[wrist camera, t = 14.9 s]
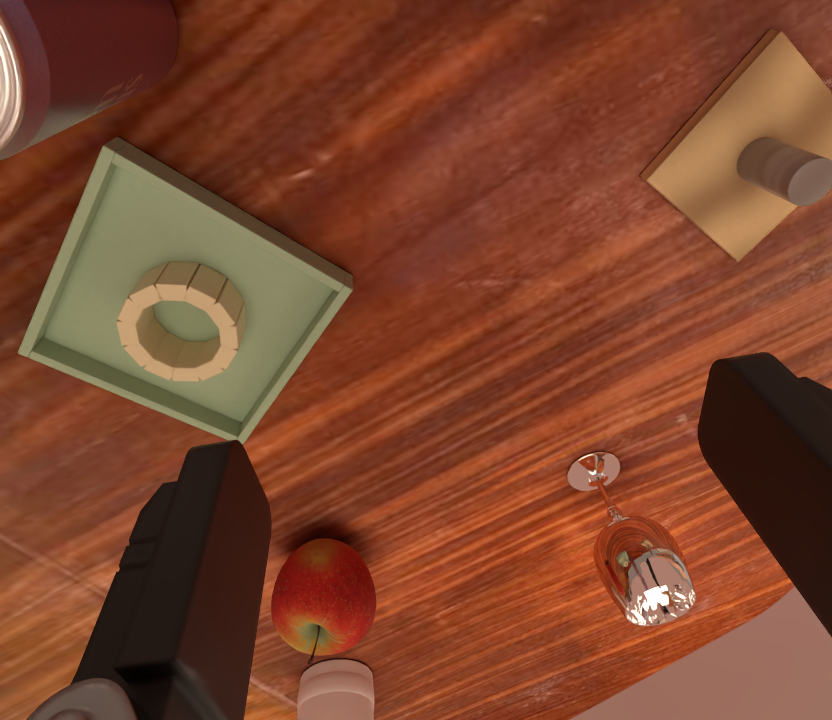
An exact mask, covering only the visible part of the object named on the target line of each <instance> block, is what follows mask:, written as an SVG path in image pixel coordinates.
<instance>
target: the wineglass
mask: <svg viewBox="0 0 832 720" xmlns="http://www.w3.org/2000/svg"><path fill="white" fill-rule="evenodd" d="M619 472H620V462H619V460H618V458H617V457H616V456H615V455H613V454H611V453H608V452H593V453H590V454H587V455H584V456H582V457H581V458H579V459H578V460H576V461H575V462H574V463H573V464H572V465H571V467H570V468H569V470H568V473H567V480H568V482H569V484H570V485H571V486H572V487H573V488H575V489H577V490H580V491H594V490H598V489H599V490H600V492H601V494H602V496H603V498H604V500H605V503H606V507H607V514H608V517H609V519H610V520H611V521H612V522H611V523H609V524H608V525H607V526H605V527H604V528H603V529H602V530H601V531H600V533H599V534H598V536H597V538H596V540H595V544H594V550H593V556H594V562H595V566H596V569H597V572H598V575H599V577H600V579H601V581H602V583H603V585H604V586H605V588H606V590H607V592H608V593H609V595H610V596H611V598H612V600H613V601H614V602H615V604H616V605H617V606H618V608H619V609H620V610H621V612H622V613H623V614H624V616H625V617H626V618H627V619H628V620H629V621H630V622H631V623H633V624H636V625H641V626H654V625H659V624H663V623H667V622H670V621H672V620H674V619H676V618H678V617H680V616H682V615H683V614H684V613H686V612H687V611H688V610H689V609H690V608H691V607H692V606H693V604H694V602H695V599H696V594H695V589H694V585H693V582H692V578H691V575H690V572H689V569H688V566H687V563H686V561H685V558H684V556H683V554H682V552H681V549H680V548H679V546H678V544H677V542H676V541H675V539H674V538H673V536H672V535H671V534H670V533H669V532H668V531H667V530H666V529H665V528H664V527H663V526H662V525H661V524H659V523H658V522H656V521H654V520H652V519H650V518H646V517H642V516H627V517H623V515H622V512H621V511H620V509H619V508H618V507H616V506H615V504H614V503H613V502H612V500H611V499H610V497H609V495H608V493H607V491H606V489H605V486H607V485H608V484H610V483H611V482H612V481H613V480H614V479H615V478H616V477H617V476H618V474H619Z"/></svg>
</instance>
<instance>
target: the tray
mask: <svg viewBox="0 0 832 720" xmlns="http://www.w3.org/2000/svg"><path fill="white" fill-rule="evenodd" d="M171 261H179V262H197V263H199V267H200V265H201V264H203V265H205V266H207V267H209V268H211V269H213V270H215V271H216V272H218V273H220V274H222V275H224V276H226V280H227V279H229V280H230V281H231V282H232V284H233V285H234V286H235V288H236V289H237V291H238V292H239V293H240V295H241V296H242V298H243V299H244V300H243V302H244V303H245V311H246V327H245V330H244V334H243V337H242V340H241V343H240V346H239V349H238V352H237V354H236V355H235V357H234V358H233V360H232V362H231V363H230V365H229V366H228V368H227V369H225V370H224V371H223V372H221V373H219V374H217V375H215V376H213V377H210V378H208V379H206V380H204V381H202V380H201V379H200V381H198V382H193V381H173V380H172V377H171V379H170V380H167V379H165V378H163V377H160V376H158V375H156V374H153V373H151V372H149V371H147V370H144V367H145V366H143V367H140V366H139V364H138V363H137V362H136V361H135V360H134V359H133V358H132V357H131V356H130V355H129V354H128V353H127V352H126V350H125V349H124V348H123V347H124V345H121V341H120V337H119V332H118V328H117V323H116V321H117V320H118V319H117V316H118V314H119V312H120V310H121V308H122V306H123V304H124V302H125V300H126V298H127V297H128V295H129V294H130V293H131V291H132V290H133V289H134V287H135V286H136V284H137V283H138V282H139V280H140V279H141V278H142V276H143V275H144V274H145V273H146V272H148V271H150V270H152V269H154V268H156V267H158V266H160V265H162V264H164V263H166V262H169V263H170V262H171ZM352 279H353V276H352V275H351V274H349V273H347V272H346V271H344V270H342V269H341V268H339V267H337V266H336V265H334V264H332V263H330V262H329V261H327V260H325V259H324V258H322V257H320V256H319V255H317V254H315V253H314V252H312V251H310V250H309V249H307V248H305V247H303V246H302V245H300V244H298V243H297V242H295V241H293V240H292V239H290V238H288V237H287V236H285V235H283V234H281V233H280V232H278V231H276V230H275V229H273V228H271V227H270V226H268V225H266V224H265V223H263V222H261V221H259V220H258V219H256V218H254V217H253V216H251V215H249V214H248V213H246V212H244V211H243V210H241V209H239V208H237V207H236V206H234V205H232V204H231V203H229V202H227V201H226V200H224V199H222V198H221V197H219V196H217V195H215V194H214V193H212V192H210V191H209V190H207V189H205V188H204V187H202V186H200V185H199V184H197V183H195V182H193V181H192V180H190V179H188V178H187V177H185V176H183V175H182V174H180V173H178V172H177V171H175V170H173V169H172V168H170V167H168V166H166V165H165V164H163V163H161V162H160V161H158V160H156V159H155V158H153V157H151V156H150V155H148V154H146V153H144V152H143V151H141V150H139V149H138V148H136V147H134V146H133V145H131V144H129V143H128V142H126V141H124V140H122V139H121V138H119V137H116V138H114V139H113V140H111V141H110V142H108V143H106V144H105V145H103V146H102V149H101V151H100V154H99V156H98V159H97V161H96V163H95V166H94V168H93V171H92V173H91V176H90V178H89V180H88V183H87V185H86V188H85V190H84V193H83V195H82V197H81V200H80V202H79V205H78V207H77V210H76V212H75V214H74V217H73V219H72V222H71V224H70V227H69V229H68V232H67V234H66V236H65V239H64V241H63V244H62V246H61V249H60V251H59V253H58V256H57V258H56V261H55V263H54V266H53V268H52V270H51V273H50V275H49V278H48V280H47V283H46V285H45V287H44V290H43V292H42V295H41V297H40V300H39V302H38V305H37V307H36V309H35V312H34V314H33V317H32V319H31V322H30V324H29V326H28V329H27V331H26V334H25V336H24V339H23V341H22V343H21V346H20V348H19V351H18V353H19V354H21V355H23V356H26V357H29V358H30V359H33V360H35V361H37V362H40V363H42V364H45V365H47V366H50V367H52V368H54V369H57V370H59V371H62V372H64V373H67V374H69V375H71V376H74V377H76V378H79V379H81V380H84V381H86V382H88V383H91V384H93V385H96V386H98V387H101V388H103V389H105V390H108V391H110V392H113V393H115V394H118V395H120V396H122V397H125V398H127V399H130V400H132V401H134V402H137V403H139V404H142V405H144V406H147V407H149V408H151V409H154V410H156V411H159V412H161V413H164V414H166V415H168V416H171V417H173V418H176V419H178V420H181V421H183V422H185V423H188V424H190V425H193V426H195V427H198V428H200V429H202V430H205V431H207V432H210V433H212V434H215V435H217V436H219V437H222V438H224V439H227V440H229V441H231V440H238V441H240V442H241V444H242V445H243V444H244V442H245V441H246V439H247V438H248V437H249V435H250V434H251V432H252V431H253V430H254V428H255V427H256V425H257V424H258V423H259V421H260V420H261V418H262V417H263V415H264V414H265V413H266V411H267V410H268V408H269V407H270V406H271V404H272V403H273V401H274V400H275V399H276V397H277V396H278V394H279V393H280V392H281V390H282V389H283V387H284V386H285V385H286V383H287V382H288V380H289V379H290V378H291V376H292V375H293V373H294V372H295V371H296V369H297V368H298V366H299V365H300V363H301V362H302V361H303V359H304V358H305V356H306V355H307V354H308V352H309V351H310V349H311V348H312V347H313V345H314V344H315V342H316V341H317V340H318V338H319V337H320V335H321V334H322V333H323V331H324V330H325V328H326V327H327V326H328V324H329V323H330V321H331V320H332V319H333V317H334V316H335V314H336V313H337V311H338V310H339V309H340V307H341V306H342V304H343V303H344V302H345V300H346V299H347V297H348V296H349V295H350V293H351V292H352V290H353V280H352ZM152 306H153V311H154V317H155V319H156V320H157V321H158V322H159V323H160V325H161V326H162V327H163V328H164V329H165V330H166V332H168V333H170V334H172V335H174V336H176V337H178V338H180V339H182V340H184V341H190V342H207V341H209V340H211V339H213V338H215V337H217V336H220V335H219V328H218V327H217V325H216V324H215V323H214V321H213V320H212V319H211V318H210V316H209V315H208V314H207V312H206V311H204V310H202V309H200V308H198V307H196V306H194V305H192V304H190V303H188V302H186V301H168V300H162V301H160V302H157V303H155V304H153V305H152Z"/></svg>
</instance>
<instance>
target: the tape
mask: <svg viewBox="0 0 832 720" xmlns="http://www.w3.org/2000/svg"><path fill="white" fill-rule="evenodd" d="M162 300H168V301H186V302H188V303H190V304H192V305H194V306H196V307H198V308H200V309H202V310H204V311H206V312H207V314H208V315H209V316H210V318H211V319H212V320H213V321H214V323H215V324H216V325H217V327H218V328H219V335H220V336H217V337H215V338H213V339H211V340H209V341H207V342H190V341H184V340H182V339H180V338H178V337H176V336H174V335H172V334H170V333H168V332H166V330H165V329H164V328H163V327H162V326H161V325H160V323H159V322H158V321H157V320H156V319H155V317H154V311H153V306H152V305H153V304H155V303H157V302H160V301H162ZM243 300H244V299H243V298H242V296H241V295H240V293H239V292H238V291H237V289H236V288H235V286H234V285H233V284H232V282H231V281H230V280H229V279H227V280H226V276H224V275H222V274H220V273H218V272H216V271H215V270H213V269H211V268H209V267H207V266H205V265H203V264H201V265H200V267H199V263H197V262H179V261H171V262H170V263H169V262H166V263H164V264H162V265H160V266H158V267H156V268H154V269H152V270H150V271H148V272H146V273H145V274H144V275H143V276H142V278H141V279H140V280H139V282H138V283H137V284H136V286H135V287H134V289H133V290H132V291H131V293H130V294H129V295H128V297H127V298H126V300H125V302H124V304H123V306H122V308H121V310H120V312H119V314H118V316H117V319H118V320H117V321H116V323H117V328H118V332H119V337H120V341H121V345H124V347H123V348H124V349H125V350H126V352H127V353H128V354H129V355H130V356H131V357H132V358H133V359H134V360H135V361H136V362H137V363H138V364H139V366H140V367H143V366H145V367H144V370H147V371H149V372H151V373H153V374H156V375H158V376H160V377H163V378H165V379H167V380H170V379H171V377H172V380H173V381H193V382H198V381H200V379H201V380H202V381H204V380H206V379H208V378H210V377H213V376H215V375H217V374H219V373H221V372H223V371H224V370H225V369H227V368H228V366H229V365H230V363H231V362H232V360H233V358H234V357H235V355H236V354H237V352H238V349H239V346H240V343H241V340H242V337H243V334H244V330H245V327H246V311H245V303H244V302H243Z"/></svg>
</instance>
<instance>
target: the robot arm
mask: <svg viewBox="0 0 832 720" xmlns="http://www.w3.org/2000/svg"><path fill="white" fill-rule="evenodd" d="M698 440H699V445H700V448H701V451H702V454H703V456H704V458H705V460H706V462H707V463H708V465H709V466H710V468H711V469H712V471H713V472H714V473H715V475H716V476H717V478H718V479H719V480H720V482H721V483H722V485H723V486H724V487H725V489H726V490H727V492H728V493H729V494H730V496H731V497H732V499H733V500H734V501H735V503H736V504H737V505H738V507H739V508H740V510H741V511H742V512H743V514H744V515H745V517H746V518H747V519H748V521H749V522H750V524H751V525H752V526H753V528H754V529H755V531H756V532H757V533H758V535H759V536H760V538H761V539H762V540H763V542H764V543H765V545H766V546H767V547H768V549H769V550H770V552H771V553H772V554H773V556H774V557H775V559H776V560H777V561H778V563H779V564H780V566H781V567H782V568H783V570H784V571H785V573H786V574H787V575H788V577H789V578H790V580H791V581H792V582H793V584H794V585H795V587H796V588H797V589H798V591H799V592H800V593H801V595H802V596H803V598H804V599H805V600H806V602H807V603H808V605H809V606H810V607H811V609H812V610H813V612H814V613H815V614H816V616H817V617H818V619H819V620H820V621H821V623H822V624H823V626H824V627H825V628H826V630H827V631H828V633H829V634H830V635H831V637H832V390H831V389H829V388H827V387H825V386H823V385H821V384H819V383H817V382H815V381H813V380H811V379H809V378H807V377H802V378H797V377H796V376H795V375H794V374H793V373H792V372H791V371H790V370H789V369H788V368H786V367H785V366H784V365H783V364H782V363H781V362H780V361H779V360H778V359H777V358H776V357H774V356H773V355H771V354H769V353H766V352H760V353H755V354H749V355H743V356H737V357H731V358H725V359H719V360H716V361H715V362H714V363H713V364H712V366H711V369H710V372H709V377H708V382H707V386H706V391H705V396H704V400H703V405H702V410H701V415H700V419H699V424H698ZM270 538H271V513H270V507H269V503H268V500H267V497H266V495H265V493H264V491H263V488H262V486H261V484H260V482H259V479H258V477H257V475H256V473H255V471H254V468H253V466H252V464H251V462H250V460H249V457H248V455H247V453H246V451H245V449H244V447H243V445H242V444H241V442H240V441H238V440H231V441H225V442H219V443H213V444H208V445H202V446H196V447H192V448H191V449H189V451H188V452H187V455H186V457H185V460H184V463H183V466H182V469H181V472H180V475H179V477H178V480H177V481H175V482H169V483H163V484H162V485H161V487H160V488H159V489H158V490H157V491H156V493H155V494H154V495H153V496H152V498H151V499H150V500H149V501H148V502H147V504H146V505H145V506H144V507H143V508H142V510H141V511H140V513H139V516H138V519H137V521H136V524H135V526H134V529H133V531H132V534H131V536H130V539H129V542H130V544H129V546H126V549H125V551H124V554H123V556H122V559H121V561H120V564H119V567H120V570H119V572H116V574H115V577H114V579H113V582H112V584H111V587H110V589H109V592H108V594H107V597H106V599H105V602H104V604H103V607H102V609H101V612H100V614H99V617H98V619H97V622H96V625H95V627H94V630H93V632H92V635H91V637H90V640H89V642H88V645H87V647H86V650H85V652H84V655H83V657H82V660H81V662H80V665H79V667H78V670H77V672H76V674H75V676H74V678H73V681H72V682H71V684H70V685H69V686H67V687H65V688H64V689H62V690H60V691H58V692H57V693H55V694H54V695H52V696H51V697H50V698H48V699H47V700H46V701H45V702H43V703H42V704H41V705H40V706H39V707H38V708H37V709H36V710H35V711H34V712H33V713H32V714H31V715H30V716H29V717H28V718H27V719H26V720H244V713H245V706H246V700H247V693H248V686H249V679H250V673H251V666H252V659H253V652H254V646H255V639H256V632H257V625H258V619H259V612H260V605H261V599H262V592H263V585H264V578H265V572H266V565H267V558H268V551H269V545H270Z"/></svg>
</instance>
